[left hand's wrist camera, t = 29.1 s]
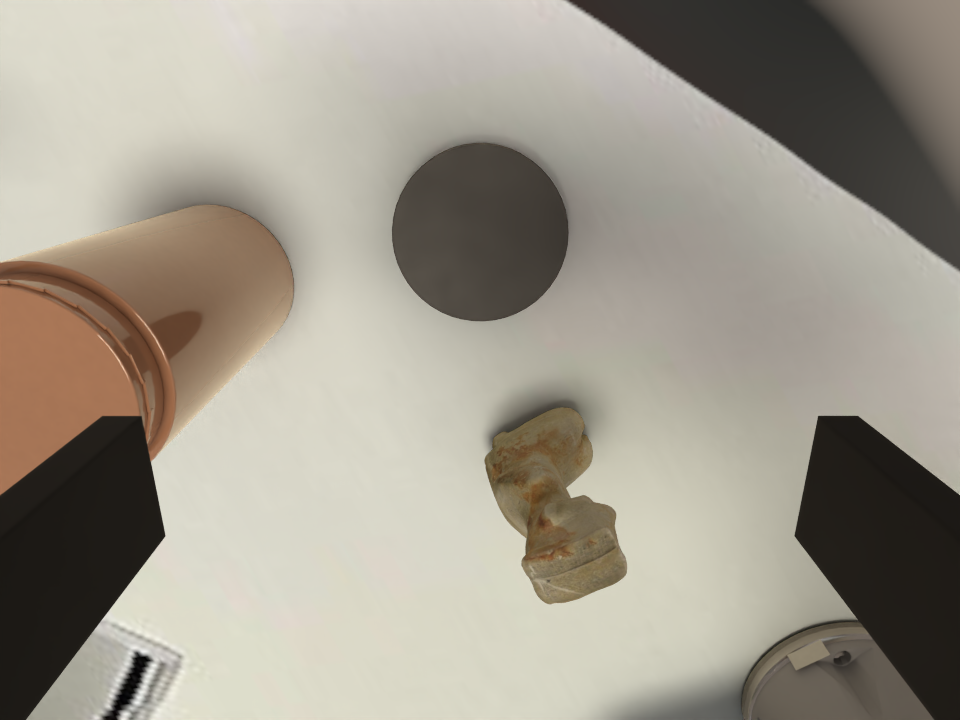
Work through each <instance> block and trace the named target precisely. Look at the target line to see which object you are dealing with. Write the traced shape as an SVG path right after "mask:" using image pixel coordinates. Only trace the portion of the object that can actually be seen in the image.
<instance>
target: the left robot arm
mask: <svg viewBox="0 0 960 720" xmlns="http://www.w3.org/2000/svg"><path fill="white" fill-rule="evenodd" d="M164 537H165V531H164V526H163V521H162V516H161V511H160V506H159V501H158V496H157V491H156V486H155V481H154V476H153V471H152V466H151V460H150V455H149V450H148V445H147V440H146V435H145V430H144V425H143V420H142V416H101V417H100V418H99V419H98V420H96V421H95V422H94V423H92V424H91V425H90V426H89V427H87V428H86V429H85V430H83V431H82V432H81V433H80V434H78V435H77V436H76V437H74V438H73V439H72V440H71V441H69V442H68V443H67V444H65V445H64V446H63V447H62V448H60V449H59V450H58V451H56V452H55V453H54V454H53V455H51V456H50V457H49V458H47V459H46V460H45V461H44V462H42V463H41V464H40V465H38V466H37V467H36V468H35V469H33V470H32V471H31V472H29V473H28V474H27V475H26V476H24V477H23V478H22V479H20V480H19V481H18V482H17V483H15V484H14V485H13V486H11V487H10V488H9V489H8V490H6V491H5V492H4V493H2V494H1V495H0V720H26V719H27V718H28V716H29V715H30V714H31V712H32V711H33V710H34V708H35V707H36V706H37V704H38V703H39V702H40V700H41V699H42V698H43V697H44V695H45V694H46V693H47V691H48V690H49V689H50V687H51V686H52V685H53V683H54V682H55V681H56V679H57V678H58V677H59V675H60V674H61V673H62V672H63V670H64V669H65V668H66V666H67V665H68V664H69V662H70V661H71V660H72V658H73V657H74V656H75V654H76V653H77V652H78V650H79V649H80V648H81V647H82V645H83V644H84V643H85V641H86V640H87V639H88V637H89V636H90V635H91V633H92V632H93V631H94V629H95V628H96V627H97V625H98V624H99V623H100V622H101V620H102V619H103V618H104V616H105V615H106V614H107V612H108V611H109V610H110V608H111V607H112V606H113V604H114V603H115V602H116V600H117V599H118V598H119V597H120V595H121V594H122V593H123V591H124V590H125V589H126V587H127V586H128V585H129V583H130V582H131V581H132V579H133V578H134V577H135V575H136V574H137V573H138V572H139V570H140V569H141V568H142V566H143V565H144V564H145V562H146V561H147V560H148V558H149V557H150V556H151V554H152V553H153V552H154V550H155V549H156V548H157V547H158V545H159V544H160V543H161V541H162V540H163V539H164ZM795 537H796V539H797V540H798V541H799V543H800V544H801V545H802V547H803V548H804V549H805V550H806V552H807V553H808V554H809V556H810V557H811V558H812V560H813V561H814V562H815V564H816V565H817V566H818V568H819V569H820V570H821V572H822V573H823V574H824V575H825V577H826V578H827V579H828V581H829V582H830V583H831V585H832V586H833V587H834V589H835V590H836V591H837V593H838V594H839V595H840V597H841V598H842V599H843V600H844V602H845V603H846V604H847V606H848V607H849V608H850V610H851V611H852V612H853V614H854V615H855V616H856V618H857V619H858V620H859V622H840V623H832V624H826V625H822V626H818V627H814V628H811V629H808V630H805V631H803V632H800V633H798V634H796V635H794V636H792V637H790V638H788V639H786V640H785V641H783V642H781V643H780V644H778V645H777V646H776V647H774V648H773V649H772V650H771V651H769V652H768V653H767V654H766V655H765V656H764V657H763V658H762V659H761V660H760V661H759V662H758V664H757V665H756V666H755V667H754V669H753V670H752V672H751V674H750V675H749V677H748V679H747V681H746V684H745V686H744V690H743V694H742V714H743V718H744V720H960V495H959V494H958V493H956V492H955V491H954V490H952V489H951V488H950V487H949V486H947V485H946V484H945V483H943V482H942V481H941V480H940V479H938V478H937V477H936V476H934V475H933V474H932V473H931V472H929V471H928V470H927V469H925V468H924V467H923V466H922V465H920V464H919V463H918V462H916V461H915V460H914V459H913V458H911V457H910V456H909V455H907V454H906V453H905V452H904V451H902V450H901V449H900V448H898V447H897V446H896V445H895V444H893V443H892V442H891V441H889V440H888V439H887V438H886V437H884V436H883V435H882V434H880V433H879V432H878V431H877V430H875V429H874V428H873V427H871V426H870V425H869V424H868V423H866V422H865V421H864V420H862V419H861V418H860V417H859V416H818V420H817V425H816V430H815V435H814V440H813V445H812V450H811V455H810V460H809V466H808V471H807V476H806V481H805V486H804V491H803V496H802V501H801V506H800V511H799V516H798V521H797V526H796V531H795Z"/></svg>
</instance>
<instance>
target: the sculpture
mask: <svg viewBox="0 0 960 720" xmlns="http://www.w3.org/2000/svg"><path fill="white" fill-rule="evenodd" d="M584 427H585V425H584V422H583V419H582V417H581V416H580V415H579V414H578V413H577V412H576V411H575V410H573V409H571V408H555V409H552V410H549V411H547V412H545V413H543V414H541V415H539V416H537V417H535V418H533V419H531V420H530V421H528V422H526V423H524V424H523V425H521V426H520V427H518V428H516V429H515V430H513V431H511V432H509V433H508V432H501V433H499V434H498V435H497V436H495V437H494V439H493V445H492V446H493V450H491V451H490V452H489V453H488V454H487V456H486V457H485V465H486V471H487V475H488V478H489V482H490V485H491V488H492V491H493V493H494V496H495V498H496V501H497V503H498V506H499V508H500V510H501V511H502V513H503V515H504V517H505V518H506V520H507V521H508V522H509V523H510V524H511V526H513V527H514V528H515V529H516V530H517V531H518V532H519V533H521V534H522V535H523V536H524V537H526V538H527V540H526V555H525V556H524V558H523V559H522V567H523V569H524V571H525V573H526V575H527V576H528V577H529V578H530V580H531V582H532V584H533V587H534V590H535V592H536V594H537V595H538V597H539V598H540V599H541V600H542V601H544V602H545V603H547V604H553V603H565V602H569V601H573V600H576V599H579V598H581V597H584V596H586V595H588V594H590V593H593V592H595V591H597V590H600V589H603V588H605V587H608V586H611V585H613V584H615V583H617V582H618V581H619V580H621V579H622V578H623V577H624V576H625V575H626V573H627V563H626V558H625V556H624V554H623V553H622V551H621V549H620V547H619V544H618V539H617V535H616V531H615V520H616V512H615V511H614V509H613V508H612V507H610V506H608V505H604V504H600V503H595V502H593V501H592V500H591V499H590V498H589V497H587V496H585V495H583V496H579V497H575V498H570V495H569V493H568V491H567V489H566V487H568V486H569V485H570V484H571V483H572V482H574V481H575V480H576V479H577V478H578V477H579V476H580V475H581V474H582V473H583V472H584V471H585V470H586V469H587V468H588V467H589V466H590V464H591V462H592V457H593V450H592V446H591V442H590V441H589V440H588V437H587V436H586V435H582V432H583V430H584Z"/></svg>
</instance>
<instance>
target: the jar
mask: <svg viewBox="0 0 960 720" xmlns="http://www.w3.org/2000/svg"><path fill="white" fill-rule="evenodd" d="M293 293H294V283H293V275H292V270H291V267H290V264H289V261H288V259H287V256H286V254H285V252H284V250H283V249H282V247H281V245H280V244H279V242H278V241H277V240H276V239H275V237H274V236H273V235H272V234H271V233H270V232H269V231H268V230H267V229H266V228H265V227H264V226H263V225H262V224H260V223H259V222H258V221H257V220H255V219H253V218H252V217H250V216H248V215H247V214H245V213H242V212H240V211H238V210H235V209H232V208H229V207H225V206H219V205H196V206H191V207H187V208H184V209H180V210H177V211H173V212H170V213H166V214H163V215H160V216H156V217H153V218H149V219H146V220H142V221H139V222H135V223H132V224H129V225H125V226H122V227H118V228H115V229H111V230H108V231H105V232H101V233H98V234H94V235H91V236H87V237H84V238H81V239H77V240H74V241H70V242H67V243H63V244H60V245H57V246H53V247H50V248H46V249H43V250H39V251H36V252H33V253H29V254H26V255H22V256H19V257H15V258H12V259H9V260H5V261H2V262H0V495H1V494H2V493H4V492H5V491H6V490H8V489H9V488H10V487H11V486H13V485H14V484H15V483H17V482H18V481H19V480H20V479H22V478H23V477H24V476H26V475H27V474H28V473H29V472H31V471H32V470H33V469H35V468H36V467H37V466H38V465H40V464H41V463H42V462H44V461H45V460H46V459H47V458H49V457H50V456H51V455H53V454H54V453H55V452H56V451H58V450H59V449H60V448H62V447H63V446H64V445H65V444H67V443H68V442H69V441H71V440H72V439H73V438H74V437H76V436H77V435H78V434H80V433H81V432H82V431H83V430H85V429H86V428H87V427H89V426H90V425H91V424H92V423H94V422H95V421H96V420H98V419H99V418H100V417H101V416H142V420H143V425H144V430H145V435H146V440H147V445H148V450H149V455H150V460H151V461H152V460H153V459H154V458H155V457H156V456H157V455H158V454H159V453H160V452H161V451H162V450H163V449H164V448H165V447H166V446H167V445H168V444H169V443H170V442H171V441H172V440H173V439H174V438H175V437H176V436H177V435H178V434H179V433H180V432H181V430H182V429H183V428H184V427H185V426H186V425H187V424H188V423H189V422H190V421H191V420H192V419H193V418H194V417H195V416H196V415H197V414H198V413H199V412H200V411H201V410H202V409H203V408H204V407H205V406H206V405H207V404H208V403H209V402H210V401H211V399H212V398H213V397H214V396H215V395H216V394H217V393H218V392H219V391H220V390H221V389H222V388H223V387H224V386H225V385H226V384H227V383H228V382H229V381H230V380H231V379H232V378H233V377H234V376H235V375H236V374H237V373H238V372H239V371H240V370H241V368H242V367H243V366H244V365H245V364H246V363H247V362H248V361H249V360H250V359H251V358H252V357H253V356H254V355H255V354H256V353H257V352H258V351H259V350H260V349H261V348H262V347H263V346H264V345H265V344H266V343H267V342H268V341H269V340H270V339H271V337H272V336H273V335H274V334H275V333H276V332H277V331H278V330H279V329H280V328H281V326H282V325H283V323H284V322H285V320H286V318H287V317H288V314H289V312H290V309H291V305H292V301H293Z"/></svg>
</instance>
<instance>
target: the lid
mask: <svg viewBox="0 0 960 720" xmlns="http://www.w3.org/2000/svg"><path fill="white" fill-rule="evenodd" d="M392 241H393V247H394V253H395V256H396V260H397V263H398V265H399V268H400V270H401V272H402V274H403V276H404V278H405V279H406V281H407V283H408V284H409V285H410V287H411V288H412V289H413V290H414V292H415V293H416V294H417V295H418V296H419V297H420V298H421V299H422V300H424V301H425V302H426V303H428V304H429V305H430V306H432V307H433V308H435V309H437V310H438V311H440V312H442V313H445V314H447V315H449V316H452V317H456V318H459V319H463V320H470V321H490V320H497V319H501V318H505V317H508V316H511V315H514V314H516V313H518V312H520V311H522V310H524V309H526V308H527V307H529V306H530V305H531V304H533V303H534V302H536V301H537V300H538V299H539V298H540V297H541V296H542V295H543V294H544V293H545V292H546V291H547V290H548V288H549V287H550V286H551V285H552V283H553V281H554V280H555V278H556V277H557V275H558V273H559V271H560V269H561V267H562V264H563V261H564V258H565V255H566V250H567V245H568V221H567V216H566V211H565V207H564V204H563V201H562V199H561V196H560V194H559V192H558V190H557V188H556V187H555V185H554V184H553V182H552V181H551V179H550V178H549V177H548V176H547V175H546V173H545V172H544V171H543V170H542V169H541V168H540V167H539V166H537V165H536V164H535V163H534V162H533V161H531V160H530V159H528V158H527V157H525V156H524V155H522V154H521V153H519V152H517V151H514V150H512V149H510V148H507V147H504V146H500V145H495V144H489V143H473V144H465V145H461V146H457V147H453V148H451V149H448V150H446V151H444V152H442V153H440V154H438V155H437V156H435V157H433V158H432V159H431V160H429V161H428V162H427V163H425V164H424V165H423V166H422V167H421V168H420V169H419V170H418V171H417V172H416V173H415V174H414V175H413V176H412V177H411V179H410V180H409V182H408V183H407V184H406V186H405V188H404V190H403V191H402V193H401V195H400V198H399V200H398V203H397V205H396V209H395V213H394V217H393V226H392Z"/></svg>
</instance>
